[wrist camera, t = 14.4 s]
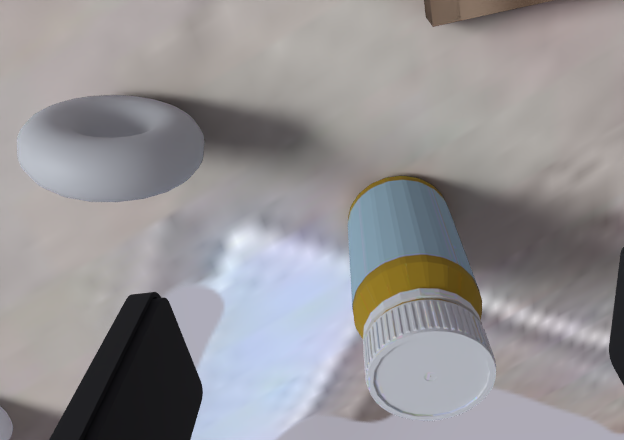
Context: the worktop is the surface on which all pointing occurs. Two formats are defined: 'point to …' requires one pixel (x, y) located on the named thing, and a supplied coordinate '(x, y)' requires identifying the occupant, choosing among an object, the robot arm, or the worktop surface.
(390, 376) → the bottle
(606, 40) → the worktop surface
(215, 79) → the worktop surface
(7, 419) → the cylinder with rectangular tab
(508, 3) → the holder
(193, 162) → the donut
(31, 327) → the worktop surface
